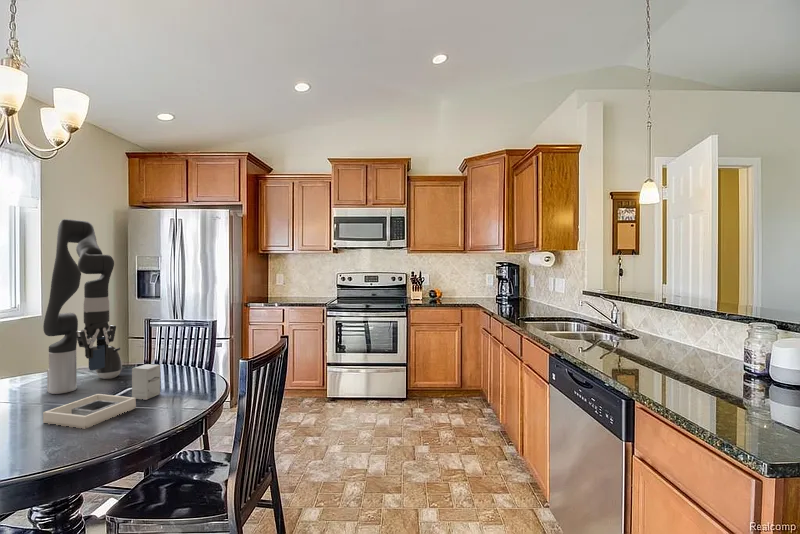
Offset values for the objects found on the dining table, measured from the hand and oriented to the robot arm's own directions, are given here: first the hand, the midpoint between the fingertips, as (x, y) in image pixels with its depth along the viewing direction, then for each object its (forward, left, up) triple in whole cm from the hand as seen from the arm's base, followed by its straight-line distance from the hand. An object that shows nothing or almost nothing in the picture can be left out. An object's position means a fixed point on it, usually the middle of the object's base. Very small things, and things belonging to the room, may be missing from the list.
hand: (96, 356), depth 150 cm
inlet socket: (0, 0, -22) cm, 22 cm away
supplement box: (0, +22, -22) cm, 31 cm away
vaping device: (0, 0, -5) cm, 5 cm away
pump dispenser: (-39, +40, -22) cm, 60 cm away
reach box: (-2, 0, -22) cm, 22 cm away
